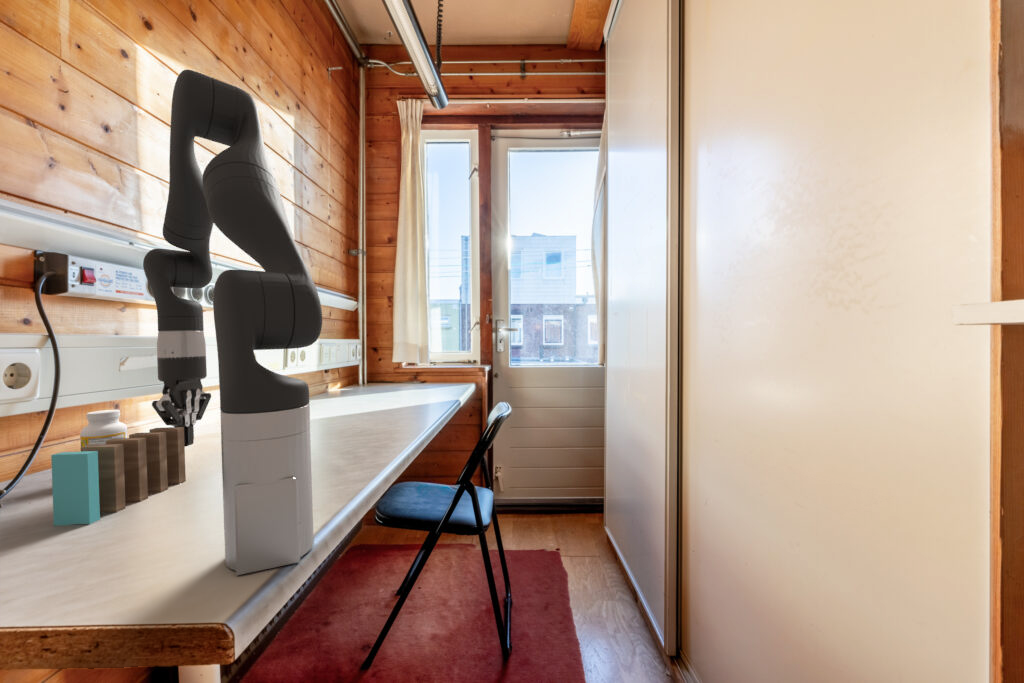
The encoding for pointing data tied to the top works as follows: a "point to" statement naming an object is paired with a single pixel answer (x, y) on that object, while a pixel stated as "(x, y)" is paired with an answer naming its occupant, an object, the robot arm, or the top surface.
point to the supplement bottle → (102, 428)
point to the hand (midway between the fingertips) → (185, 445)
